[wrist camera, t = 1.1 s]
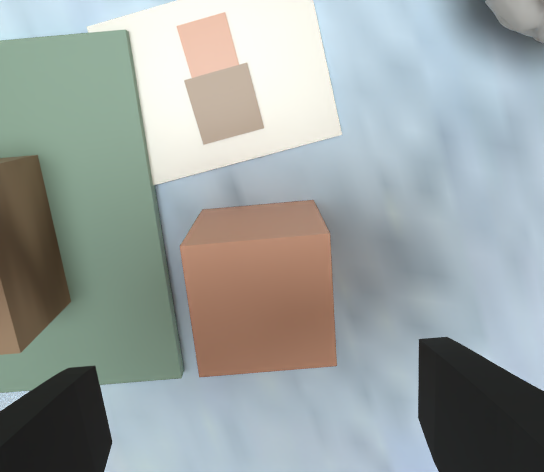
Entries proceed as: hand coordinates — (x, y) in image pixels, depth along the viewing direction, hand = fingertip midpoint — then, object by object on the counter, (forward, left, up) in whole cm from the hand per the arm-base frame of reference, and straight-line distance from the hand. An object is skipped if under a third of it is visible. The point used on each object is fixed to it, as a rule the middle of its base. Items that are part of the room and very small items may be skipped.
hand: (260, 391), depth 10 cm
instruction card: (+7, +1, -9) cm, 12 cm away
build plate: (+2, +11, -9) cm, 14 cm away
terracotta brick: (0, 0, -9) cm, 9 cm away
